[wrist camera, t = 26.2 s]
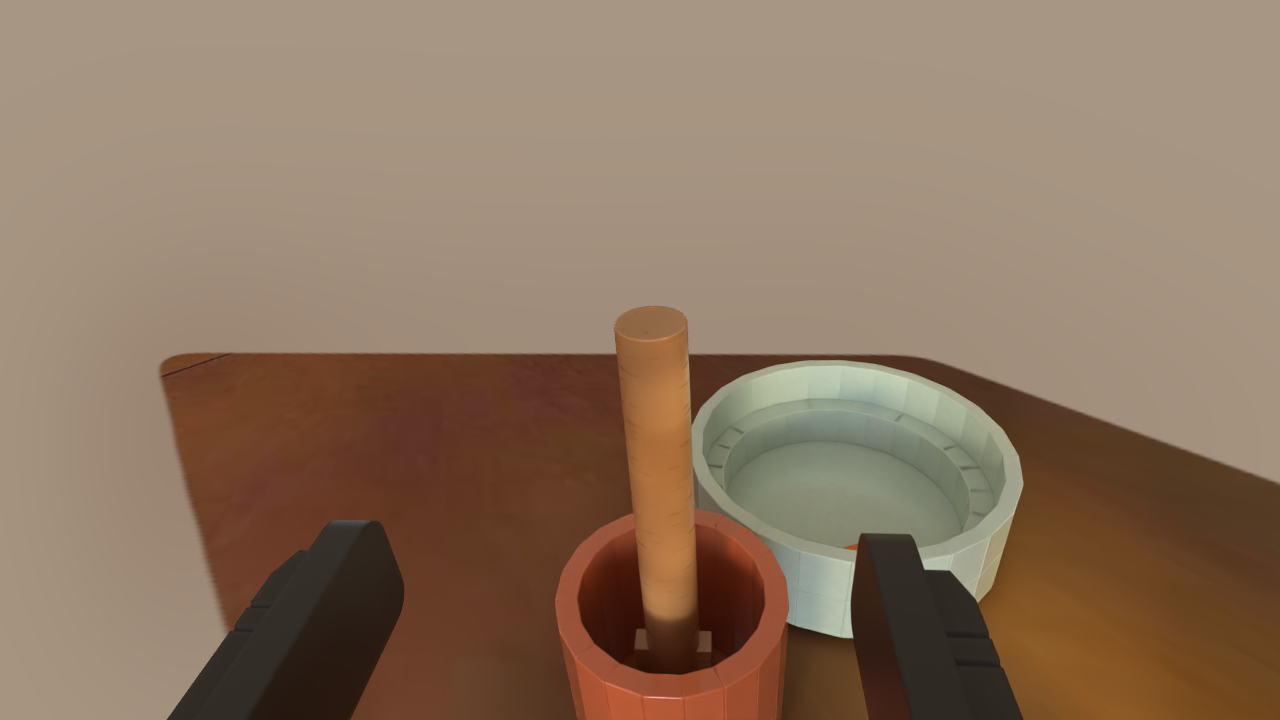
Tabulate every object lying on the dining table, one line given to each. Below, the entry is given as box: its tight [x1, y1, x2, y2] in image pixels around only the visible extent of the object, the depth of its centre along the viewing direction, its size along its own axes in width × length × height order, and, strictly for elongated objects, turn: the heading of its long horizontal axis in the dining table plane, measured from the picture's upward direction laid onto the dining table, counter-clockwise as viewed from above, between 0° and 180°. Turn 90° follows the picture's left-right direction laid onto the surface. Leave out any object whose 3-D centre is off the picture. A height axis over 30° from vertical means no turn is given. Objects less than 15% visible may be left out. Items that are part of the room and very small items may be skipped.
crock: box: [555, 508, 789, 720], centre depth 28 cm, size 9×9×9 cm
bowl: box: [691, 360, 1023, 638], centre depth 39 cm, size 18×18×6 cm
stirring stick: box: [614, 306, 713, 675], centre depth 25 cm, size 3×2×20 cm
